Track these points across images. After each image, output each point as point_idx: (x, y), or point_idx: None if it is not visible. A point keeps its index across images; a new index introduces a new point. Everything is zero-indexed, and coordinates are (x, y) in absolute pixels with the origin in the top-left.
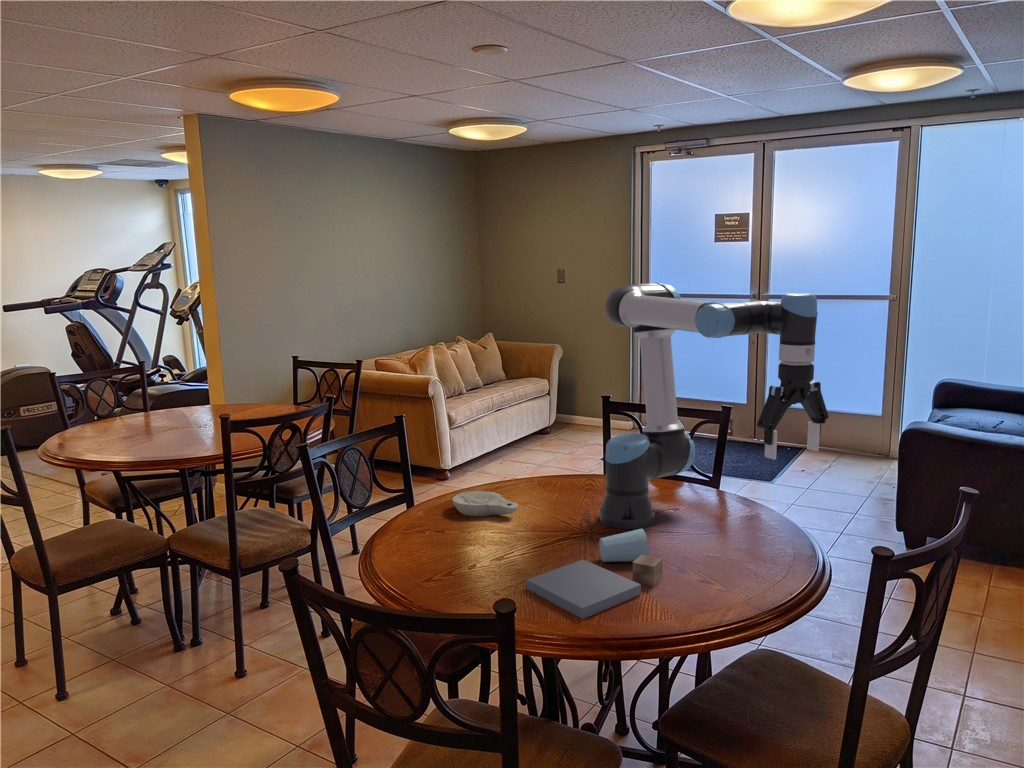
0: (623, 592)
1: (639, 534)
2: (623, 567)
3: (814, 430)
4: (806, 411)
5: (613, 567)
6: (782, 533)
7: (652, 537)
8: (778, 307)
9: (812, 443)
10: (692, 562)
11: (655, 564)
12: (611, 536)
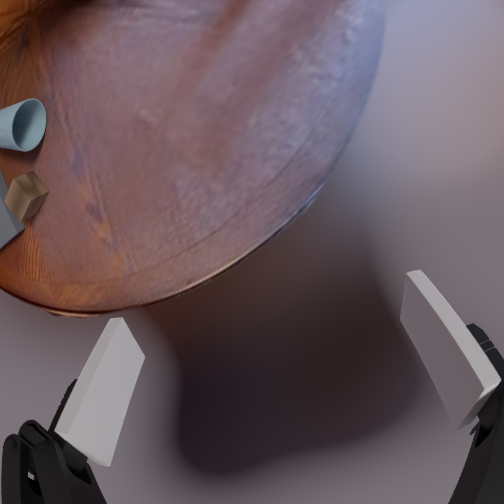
0: (5, 243)
1: (7, 139)
2: None
3: (445, 386)
4: (479, 485)
5: None
6: (341, 66)
7: (93, 27)
8: None
9: (417, 323)
10: (101, 140)
11: (22, 216)
12: None
